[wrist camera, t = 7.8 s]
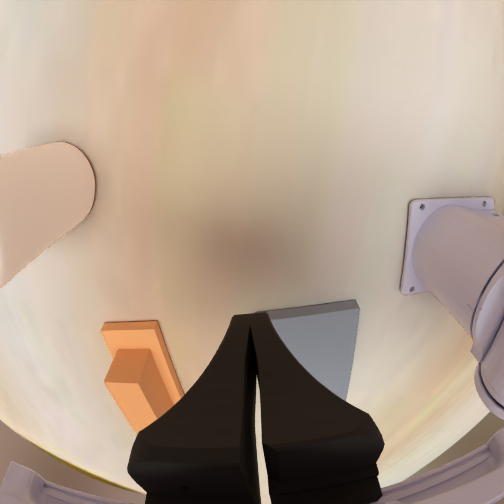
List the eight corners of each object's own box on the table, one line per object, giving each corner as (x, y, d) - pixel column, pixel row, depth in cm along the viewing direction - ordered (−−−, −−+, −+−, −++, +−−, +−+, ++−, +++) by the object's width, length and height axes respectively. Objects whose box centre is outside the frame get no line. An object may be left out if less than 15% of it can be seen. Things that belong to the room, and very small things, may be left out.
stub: (157, 320, 23) (142, 364, 19) (190, 409, 28) (185, 449, 24) (104, 322, 23) (82, 362, 19) (146, 409, 28) (137, 446, 24)
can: (84, 240, 20) (-12, 338, 9) (23, 206, 19) (-82, 274, 8) (110, 160, 18) (-14, 215, 7) (43, 129, 17) (-85, 159, 6)
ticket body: (354, 299, 23) (360, 308, 22) (342, 393, 28) (345, 403, 27) (255, 312, 23) (256, 322, 22) (266, 405, 28) (267, 414, 27)
